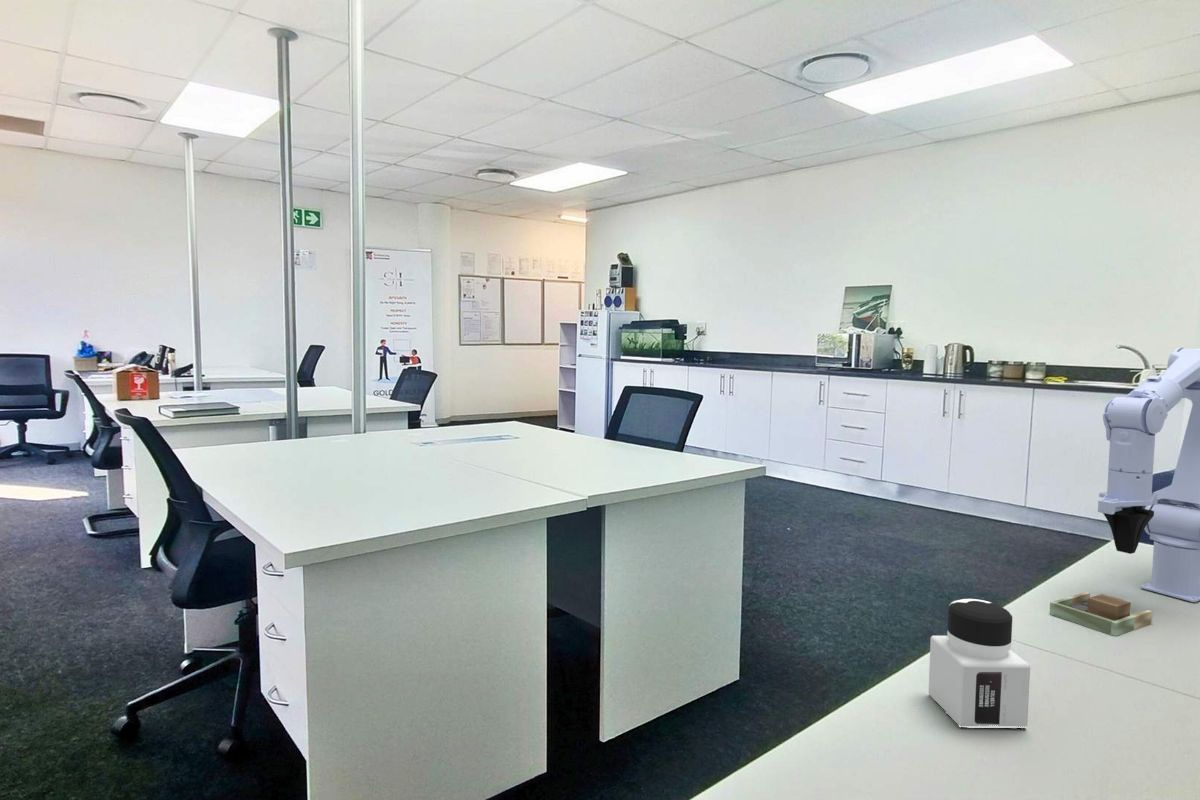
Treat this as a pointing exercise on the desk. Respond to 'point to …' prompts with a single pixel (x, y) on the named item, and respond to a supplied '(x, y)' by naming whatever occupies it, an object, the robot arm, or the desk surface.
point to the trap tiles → (1081, 606)
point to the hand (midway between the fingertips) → (1125, 551)
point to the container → (979, 667)
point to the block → (1108, 607)
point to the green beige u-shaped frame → (1096, 622)
